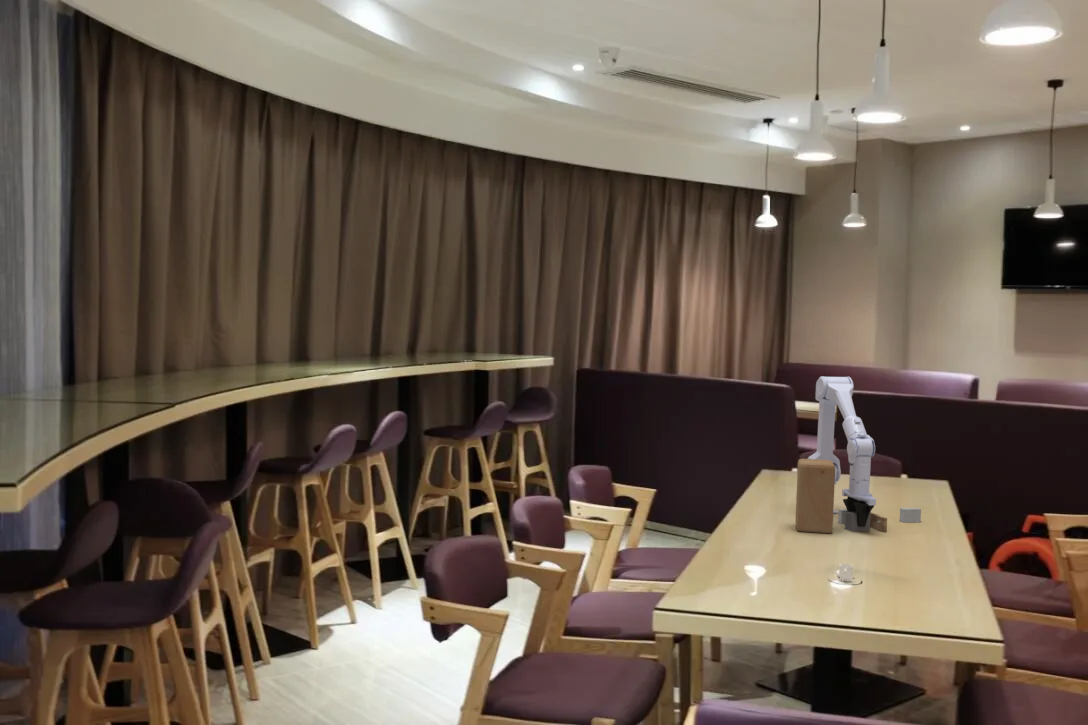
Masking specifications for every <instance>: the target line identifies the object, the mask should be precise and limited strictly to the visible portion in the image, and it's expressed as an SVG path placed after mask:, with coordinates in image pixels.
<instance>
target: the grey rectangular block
mask: <svg viewBox="0 0 1088 725" xmlns="http://www.w3.org/2000/svg"><path fill="white" fill-rule="evenodd" d="M870 516H871V514H869V516H868V519H867V522H866V525H865V527H858V524H857V513H856V512H846V518H845V524H844V529H845V530H847V531H849V532H869V531H871V527H870Z"/></svg>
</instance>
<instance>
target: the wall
mask: <svg viewBox="0 0 1088 725" xmlns="http://www.w3.org/2000/svg"><path fill="white" fill-rule="evenodd" d="M846 512H847V508H839V509H838V513H837V515H838V516H837V517H838V518H837V519H838V520H837V522H838V523H840V525H841V524H844V525H845V518H846ZM921 515H922V508H918V507H899V522H901V523H921V520H922V519H921V518H922V516H921Z"/></svg>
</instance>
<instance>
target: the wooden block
mask: <svg viewBox="0 0 1088 725" xmlns="http://www.w3.org/2000/svg"><path fill="white" fill-rule="evenodd" d="M796 471H797V473H796V474H797V476H796V496H795V497H796V499H795V500H796V501H795V521H794V522H795V527H796V530H797V531H798V532H801V533H813V534H814V533H817V534H818V533H819V534H832V532H833V529H834V528H833V526H834V513H833V509H834V508H835V507H834V505H835V503H834V501H835V485H836V484H835V466H834V464H833V462H832V461H830V460H817V459H808V458H800V459H798V461H797V470H796Z"/></svg>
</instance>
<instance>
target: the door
mask: <svg viewBox="0 0 1088 725" xmlns="http://www.w3.org/2000/svg"><path fill="white" fill-rule="evenodd" d="M870 514H871V516H870V528H873V529H875V530H877V531H880V532H883V533H887V530H888V529H887V528H888V517H884V516H883V515H879V514H877V513H874V512H872V511H871V512H870Z"/></svg>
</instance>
